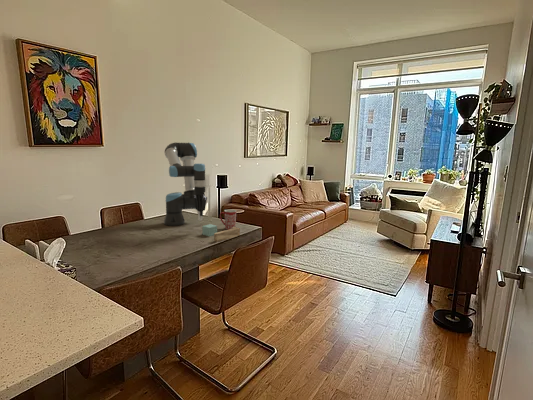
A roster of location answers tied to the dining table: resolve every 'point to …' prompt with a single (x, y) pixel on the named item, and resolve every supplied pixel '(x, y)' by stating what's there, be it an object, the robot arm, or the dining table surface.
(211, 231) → the block
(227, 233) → the stop board
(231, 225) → the mug
